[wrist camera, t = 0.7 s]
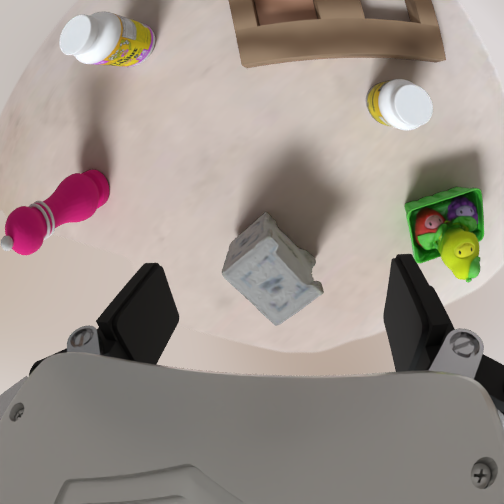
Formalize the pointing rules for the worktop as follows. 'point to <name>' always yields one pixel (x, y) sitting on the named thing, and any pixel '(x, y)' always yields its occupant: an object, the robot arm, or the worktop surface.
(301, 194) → the worktop surface
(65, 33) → the supplement bottle
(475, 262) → the fruit basket
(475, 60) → the worktop surface
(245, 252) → the grey block
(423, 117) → the supplement bottle
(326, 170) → the worktop surface
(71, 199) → the pepper mill
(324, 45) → the socket board
